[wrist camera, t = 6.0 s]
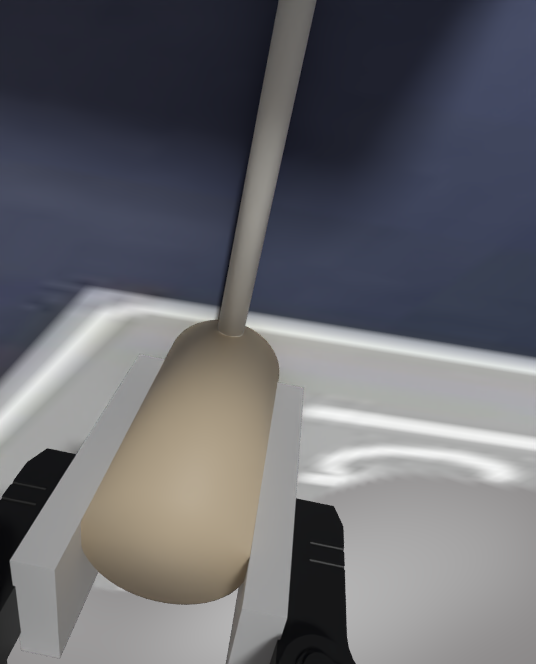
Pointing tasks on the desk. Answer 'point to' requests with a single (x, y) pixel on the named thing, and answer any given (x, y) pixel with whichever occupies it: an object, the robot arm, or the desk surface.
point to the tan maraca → (205, 403)
